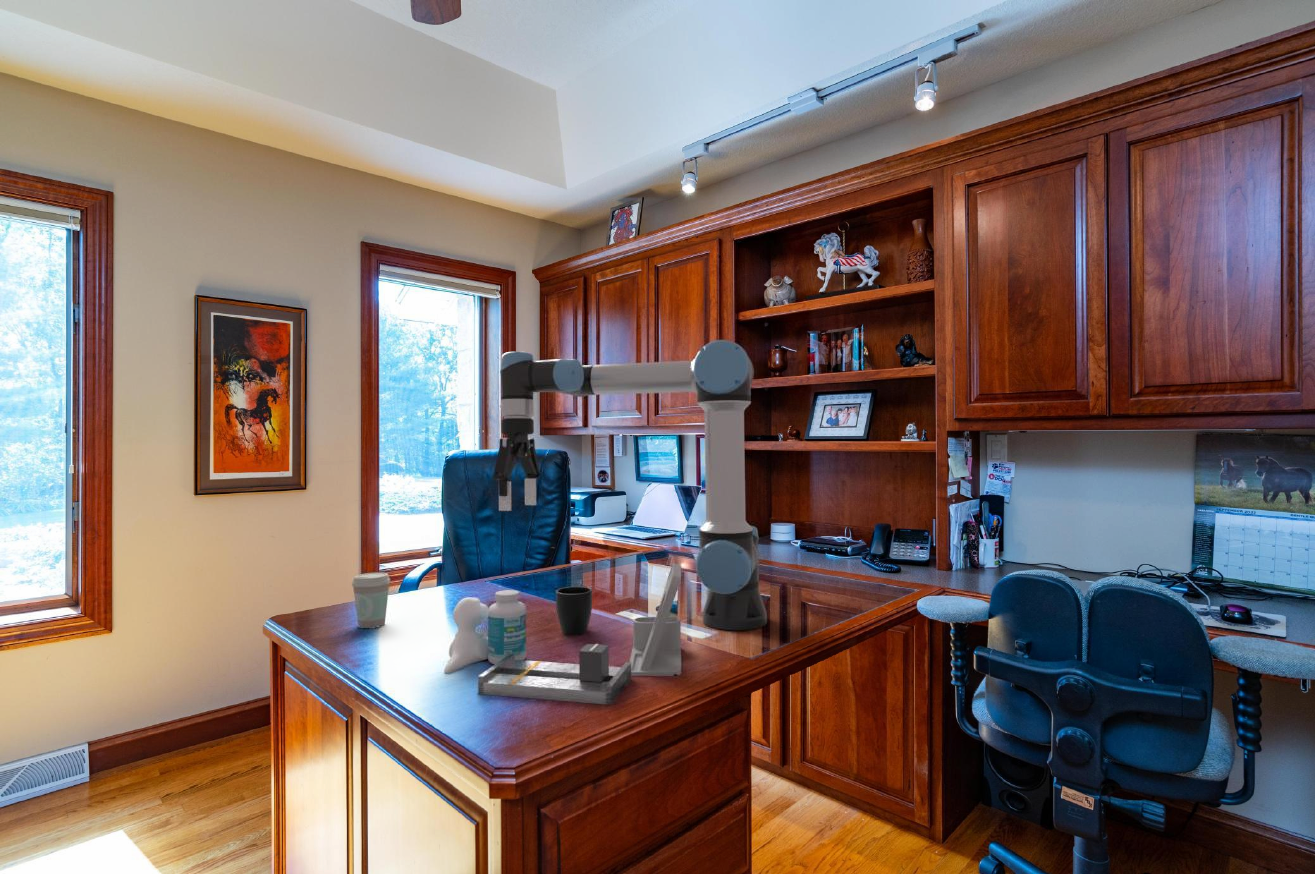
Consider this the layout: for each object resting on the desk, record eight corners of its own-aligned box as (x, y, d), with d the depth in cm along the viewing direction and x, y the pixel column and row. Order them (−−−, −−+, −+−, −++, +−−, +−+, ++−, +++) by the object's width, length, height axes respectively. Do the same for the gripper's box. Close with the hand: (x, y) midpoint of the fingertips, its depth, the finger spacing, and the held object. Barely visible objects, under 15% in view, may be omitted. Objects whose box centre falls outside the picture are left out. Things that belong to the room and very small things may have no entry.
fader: (608, 678, 114) (608, 644, 114) (601, 686, 110) (601, 651, 110) (587, 676, 115) (587, 642, 115) (579, 685, 111) (579, 649, 111)
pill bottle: (507, 669, 123) (506, 598, 123) (480, 662, 127) (479, 593, 127) (534, 658, 129) (533, 590, 130) (507, 652, 133) (507, 586, 134)
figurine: (510, 646, 138) (510, 587, 138) (465, 675, 120) (465, 608, 120) (475, 643, 140) (474, 585, 140) (425, 672, 122) (425, 606, 123)
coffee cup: (347, 625, 155) (346, 575, 155) (383, 618, 161) (383, 570, 161) (358, 632, 149) (358, 580, 149) (396, 625, 155) (395, 575, 155)
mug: (600, 622, 154) (600, 583, 155) (587, 637, 143) (586, 594, 143) (567, 621, 156) (567, 582, 156) (551, 636, 144) (551, 593, 144)
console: (631, 678, 117) (631, 662, 117) (611, 704, 105) (611, 686, 105) (509, 669, 123) (509, 653, 123) (478, 693, 111) (478, 676, 111)
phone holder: (633, 646, 136) (632, 561, 136) (681, 646, 136) (680, 560, 136) (627, 675, 119) (626, 578, 119) (682, 675, 118) (681, 577, 119)
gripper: (525, 420, 166) (526, 502, 166) (476, 416, 142) (477, 512, 141) (552, 419, 164) (553, 503, 164) (507, 415, 140) (508, 513, 140)
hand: (518, 507), depth 153 cm, fingers open, 13 cm apart
